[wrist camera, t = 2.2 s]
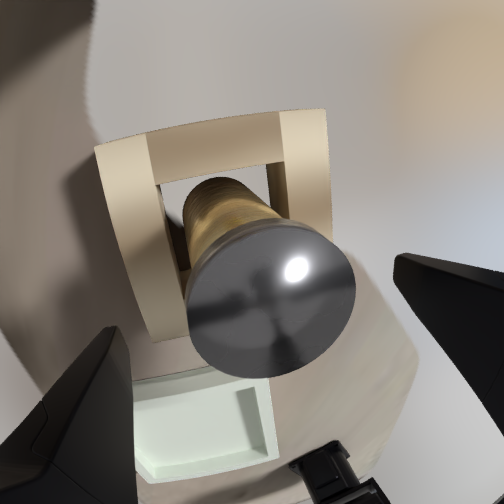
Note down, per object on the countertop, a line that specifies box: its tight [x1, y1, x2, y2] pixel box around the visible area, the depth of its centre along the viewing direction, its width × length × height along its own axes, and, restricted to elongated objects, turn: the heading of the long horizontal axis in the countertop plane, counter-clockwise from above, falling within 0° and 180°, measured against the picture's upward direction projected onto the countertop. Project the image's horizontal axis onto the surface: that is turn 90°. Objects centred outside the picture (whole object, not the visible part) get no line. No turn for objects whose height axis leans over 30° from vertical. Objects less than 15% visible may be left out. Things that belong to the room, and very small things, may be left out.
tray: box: [132, 366, 279, 484], centre depth 22 cm, size 13×13×2 cm
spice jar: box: [183, 177, 356, 379], centre depth 13 cm, size 5×5×10 cm
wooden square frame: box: [94, 109, 333, 343], centre depth 15 cm, size 10×10×3 cm
